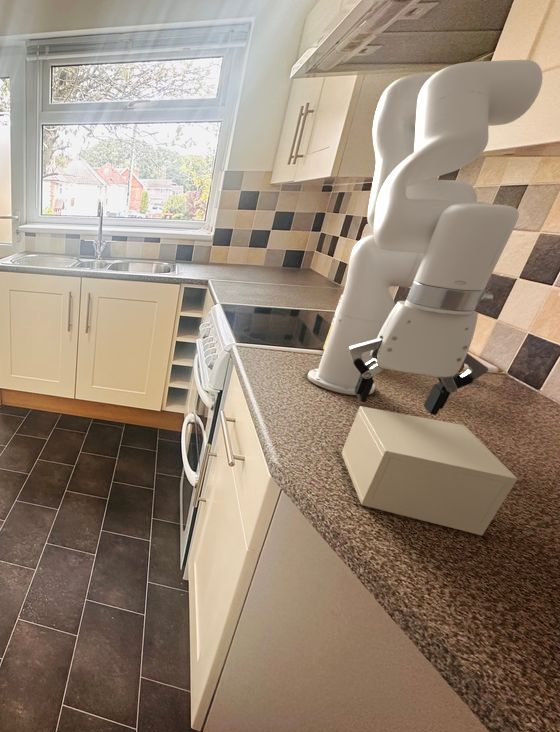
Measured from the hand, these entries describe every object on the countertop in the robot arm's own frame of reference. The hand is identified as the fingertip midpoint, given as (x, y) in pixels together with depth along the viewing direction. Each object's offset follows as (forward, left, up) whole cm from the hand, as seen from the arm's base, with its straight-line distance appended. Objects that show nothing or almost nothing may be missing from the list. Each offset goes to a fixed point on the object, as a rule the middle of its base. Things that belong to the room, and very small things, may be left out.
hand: (394, 404), depth 67 cm
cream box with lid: (+13, 0, -7) cm, 15 cm away
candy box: (-52, +4, -8) cm, 53 cm away
